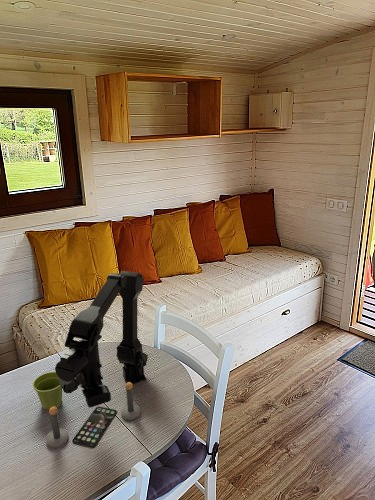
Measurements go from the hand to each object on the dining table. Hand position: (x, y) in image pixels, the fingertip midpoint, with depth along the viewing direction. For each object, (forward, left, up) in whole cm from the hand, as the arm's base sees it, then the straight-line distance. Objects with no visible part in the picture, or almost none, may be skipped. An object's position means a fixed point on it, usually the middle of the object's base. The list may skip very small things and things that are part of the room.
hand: (93, 404), depth 110 cm
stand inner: (-11, 0, -8) cm, 13 cm away
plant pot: (+10, -16, -8) cm, 20 cm away
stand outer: (+11, 0, -8) cm, 13 cm away
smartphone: (0, 0, -8) cm, 8 cm away
